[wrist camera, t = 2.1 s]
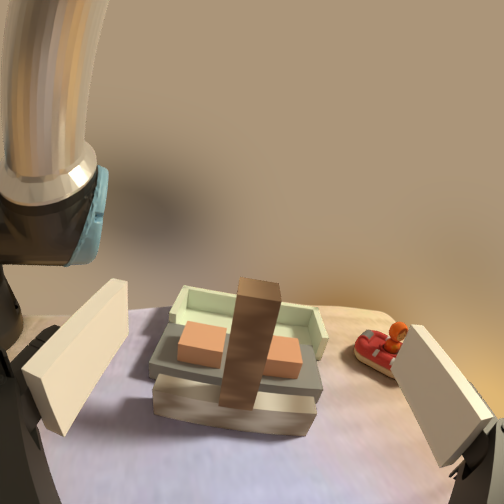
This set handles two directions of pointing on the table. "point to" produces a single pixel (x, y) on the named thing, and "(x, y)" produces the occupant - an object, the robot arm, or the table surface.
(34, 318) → the table surface
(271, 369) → the tile
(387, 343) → the toy boat
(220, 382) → the slate board
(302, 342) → the tray
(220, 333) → the tile
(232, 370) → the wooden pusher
